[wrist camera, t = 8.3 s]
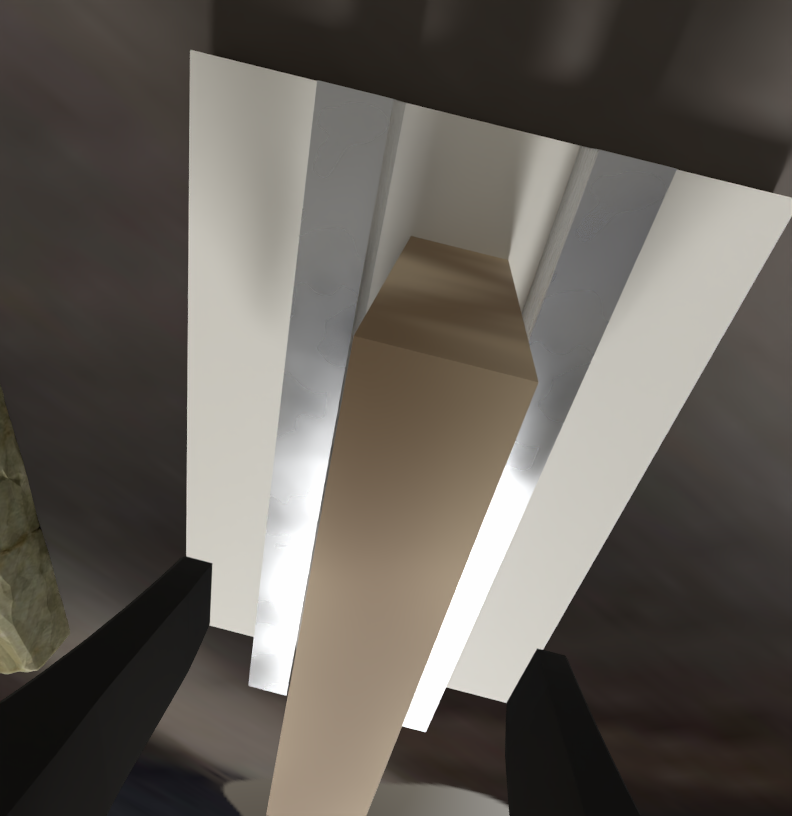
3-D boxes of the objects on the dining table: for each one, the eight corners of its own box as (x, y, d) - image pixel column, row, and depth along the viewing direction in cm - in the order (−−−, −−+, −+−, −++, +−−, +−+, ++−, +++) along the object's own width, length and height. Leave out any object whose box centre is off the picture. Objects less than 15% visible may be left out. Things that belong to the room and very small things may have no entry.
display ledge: (773, 194, 12) (860, 213, 10) (509, 677, 22) (514, 755, 20) (213, 55, 13) (140, 36, 10) (199, 596, 23) (160, 662, 20)
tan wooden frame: (510, 261, 13) (541, 383, 7) (394, 619, 20) (358, 839, 14) (409, 235, 13) (349, 335, 7) (328, 602, 20) (264, 814, 14)
